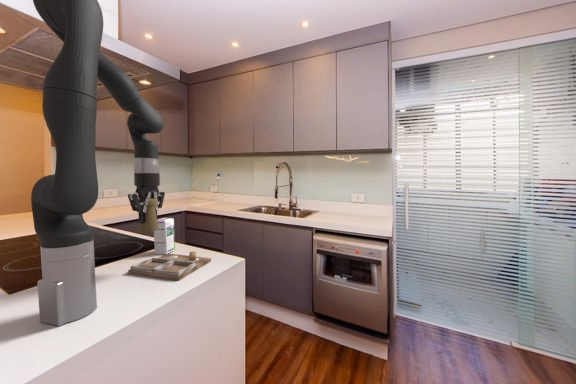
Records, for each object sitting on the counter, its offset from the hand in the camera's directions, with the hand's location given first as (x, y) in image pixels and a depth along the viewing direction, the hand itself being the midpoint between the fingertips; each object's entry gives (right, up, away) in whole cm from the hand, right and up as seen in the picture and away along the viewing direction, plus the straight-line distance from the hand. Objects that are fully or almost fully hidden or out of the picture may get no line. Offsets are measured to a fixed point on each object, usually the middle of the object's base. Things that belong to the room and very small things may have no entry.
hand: (148, 222), depth 83 cm
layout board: (+6, -17, +4) cm, 18 cm away
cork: (0, -3, 0) cm, 3 cm away
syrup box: (-5, -16, +21) cm, 27 cm away
